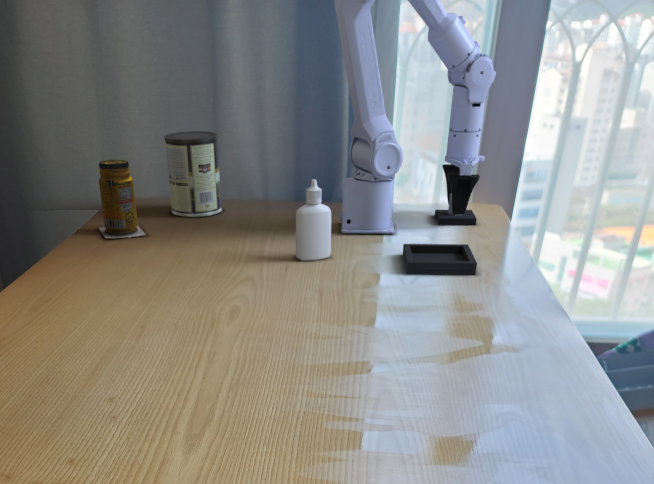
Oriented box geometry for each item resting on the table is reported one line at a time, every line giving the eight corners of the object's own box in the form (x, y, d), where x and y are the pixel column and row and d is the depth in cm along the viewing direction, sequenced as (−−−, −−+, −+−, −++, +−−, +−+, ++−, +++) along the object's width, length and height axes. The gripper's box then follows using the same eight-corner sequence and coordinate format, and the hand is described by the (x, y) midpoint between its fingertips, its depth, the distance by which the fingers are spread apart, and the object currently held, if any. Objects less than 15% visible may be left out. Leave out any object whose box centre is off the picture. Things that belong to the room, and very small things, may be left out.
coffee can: (192, 203, 157) (186, 129, 150) (231, 209, 153) (228, 133, 145) (160, 213, 150) (153, 136, 142) (201, 219, 146) (195, 140, 138)
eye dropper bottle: (297, 253, 125) (297, 176, 119) (331, 254, 125) (333, 177, 118) (294, 261, 122) (294, 182, 115) (328, 262, 121) (330, 182, 114)
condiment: (137, 225, 143) (129, 157, 136) (146, 236, 136) (138, 164, 129) (98, 229, 141) (88, 159, 134) (105, 240, 134) (96, 168, 127)
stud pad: (437, 224, 140) (440, 198, 138) (434, 215, 146) (437, 190, 143) (475, 225, 140) (479, 198, 137) (470, 216, 146) (474, 190, 143)
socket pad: (406, 273, 115) (407, 262, 114) (402, 254, 124) (403, 243, 123) (475, 274, 115) (477, 263, 114) (466, 255, 123) (468, 244, 122)
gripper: (494, 136, 128) (483, 218, 135) (481, 124, 140) (472, 200, 147) (452, 136, 128) (443, 218, 136) (443, 124, 140) (436, 200, 148)
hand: (456, 209), depth 142 cm, fingers open, 7 cm apart
